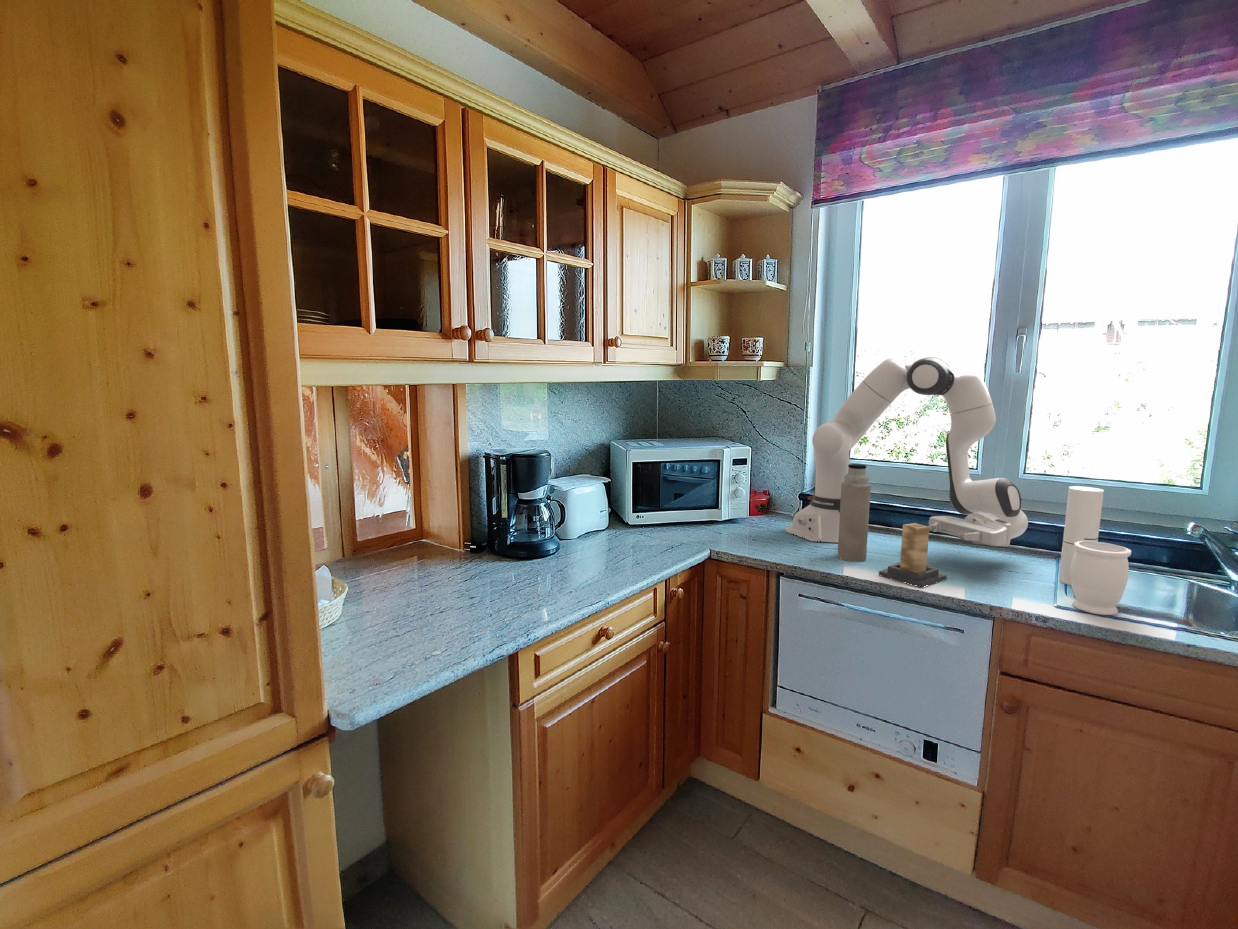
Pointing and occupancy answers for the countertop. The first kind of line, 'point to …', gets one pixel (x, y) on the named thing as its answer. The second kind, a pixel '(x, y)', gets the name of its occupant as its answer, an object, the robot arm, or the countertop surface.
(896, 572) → the dark rectangular socket base
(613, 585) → the countertop surface
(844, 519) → the thermos bottle
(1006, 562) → the countertop surface
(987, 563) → the countertop surface
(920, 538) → the oak wick peg
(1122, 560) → the jar
